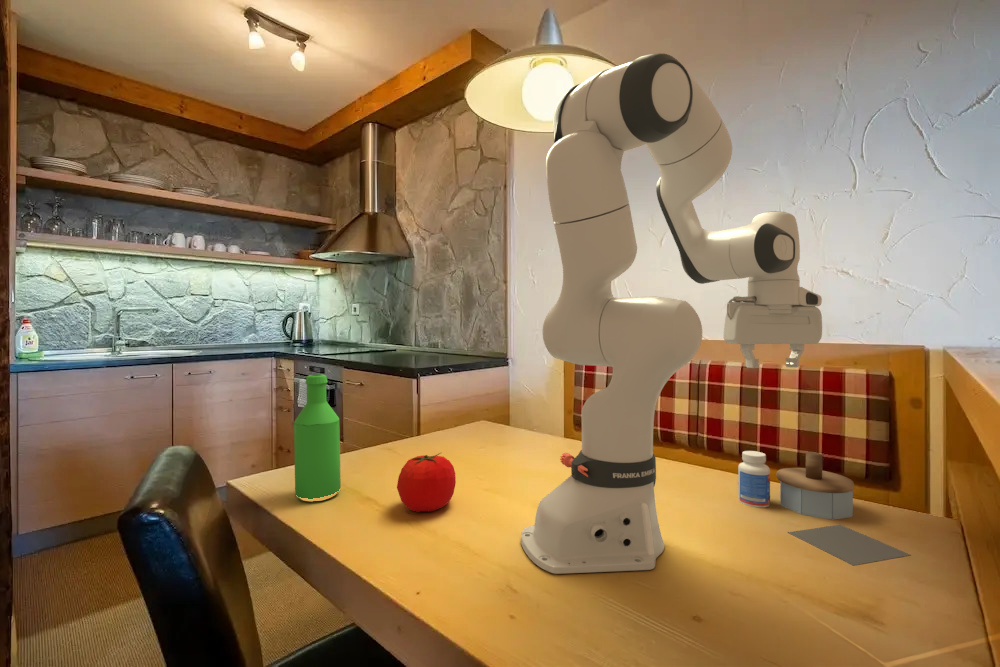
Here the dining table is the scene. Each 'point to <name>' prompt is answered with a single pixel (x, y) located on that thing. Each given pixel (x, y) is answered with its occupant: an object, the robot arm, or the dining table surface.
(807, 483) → the lid
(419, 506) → the tomato
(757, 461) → the pill bottle
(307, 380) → the bottle
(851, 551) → the mat
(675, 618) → the dining table surface
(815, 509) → the bowl
